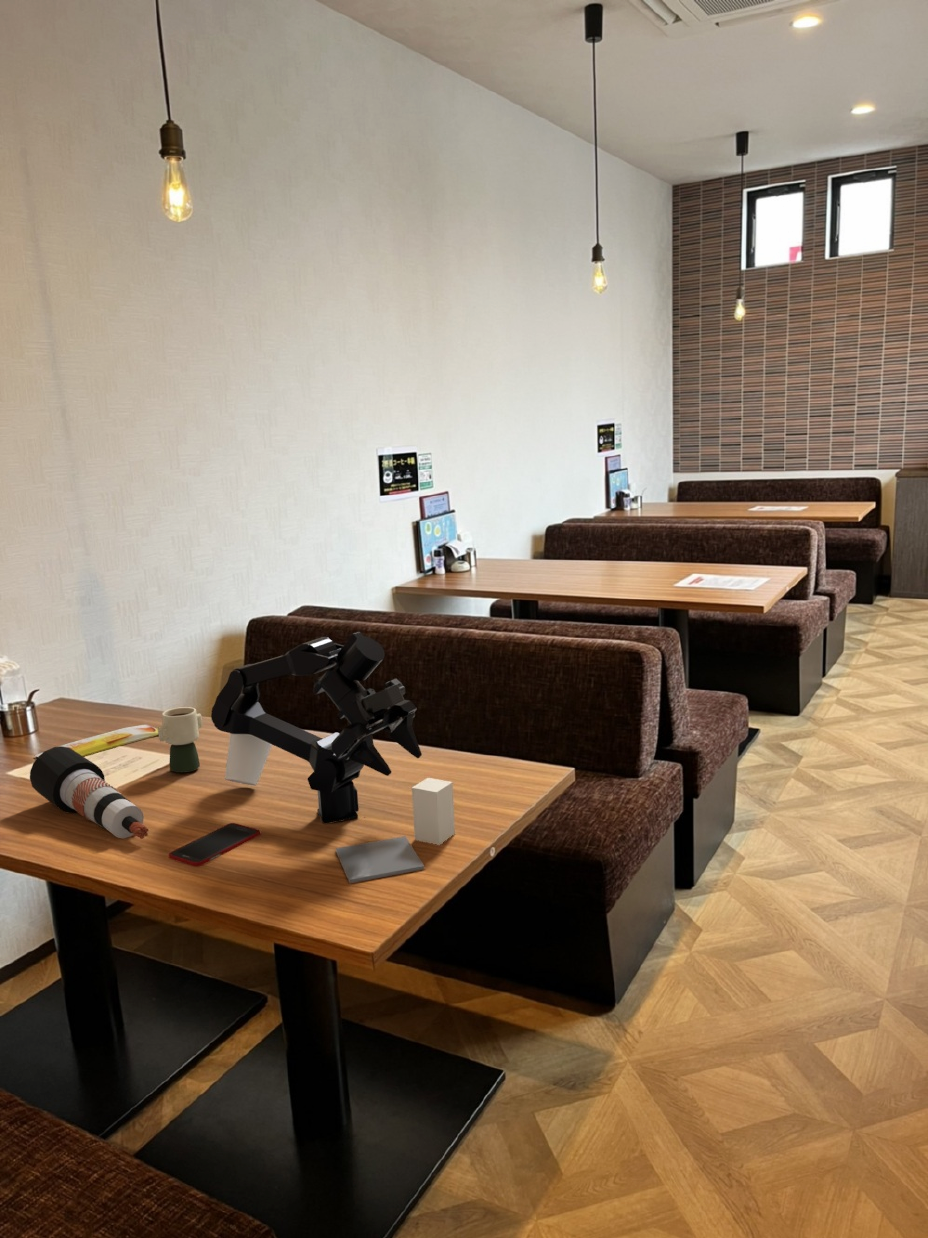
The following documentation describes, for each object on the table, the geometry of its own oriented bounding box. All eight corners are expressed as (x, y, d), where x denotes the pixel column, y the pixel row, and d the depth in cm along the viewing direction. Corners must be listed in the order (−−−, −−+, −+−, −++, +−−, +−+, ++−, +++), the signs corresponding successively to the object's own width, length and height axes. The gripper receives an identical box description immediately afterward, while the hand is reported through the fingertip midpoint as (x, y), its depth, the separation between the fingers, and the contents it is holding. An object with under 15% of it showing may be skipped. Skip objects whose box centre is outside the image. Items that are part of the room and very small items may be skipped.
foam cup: (273, 788, 184) (288, 724, 188) (235, 778, 178) (252, 712, 182) (245, 785, 191) (260, 723, 194) (207, 775, 184) (224, 712, 188)
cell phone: (262, 835, 165) (262, 830, 165) (197, 869, 153) (197, 863, 153) (232, 826, 169) (231, 821, 169) (166, 859, 157) (166, 854, 157)
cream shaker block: (414, 839, 160) (411, 787, 158) (430, 828, 164) (428, 777, 162) (439, 845, 157) (436, 792, 155) (455, 833, 161) (452, 782, 159)
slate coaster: (349, 883, 145) (349, 879, 145) (336, 851, 156) (335, 848, 156) (424, 869, 149) (424, 865, 149) (405, 839, 160) (405, 836, 160)
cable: (133, 872, 162) (104, 834, 156) (47, 806, 184) (19, 770, 179) (179, 831, 167) (152, 793, 162) (90, 771, 190) (63, 736, 184)
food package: (52, 759, 204) (33, 750, 211) (53, 769, 204) (34, 760, 211) (165, 727, 223) (144, 720, 230) (166, 736, 224) (145, 728, 230)
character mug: (195, 759, 205) (189, 702, 202) (216, 765, 200) (210, 707, 198) (153, 775, 196) (146, 716, 193) (174, 781, 192) (167, 721, 189)
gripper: (340, 682, 152) (399, 755, 149) (405, 656, 168) (460, 722, 164) (306, 722, 158) (363, 794, 155) (372, 693, 174) (425, 758, 170)
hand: (405, 765), depth 161 cm, fingers open, 9 cm apart
